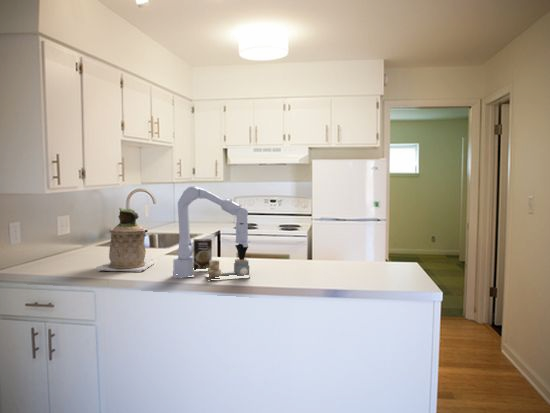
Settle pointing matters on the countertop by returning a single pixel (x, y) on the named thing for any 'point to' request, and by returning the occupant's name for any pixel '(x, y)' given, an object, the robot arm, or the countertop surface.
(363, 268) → the countertop surface
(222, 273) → the rail
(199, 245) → the coffee box
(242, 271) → the blue-grey jar
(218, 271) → the carriage
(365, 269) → the countertop surface
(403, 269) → the countertop surface
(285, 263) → the countertop surface
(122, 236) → the cookie jar
